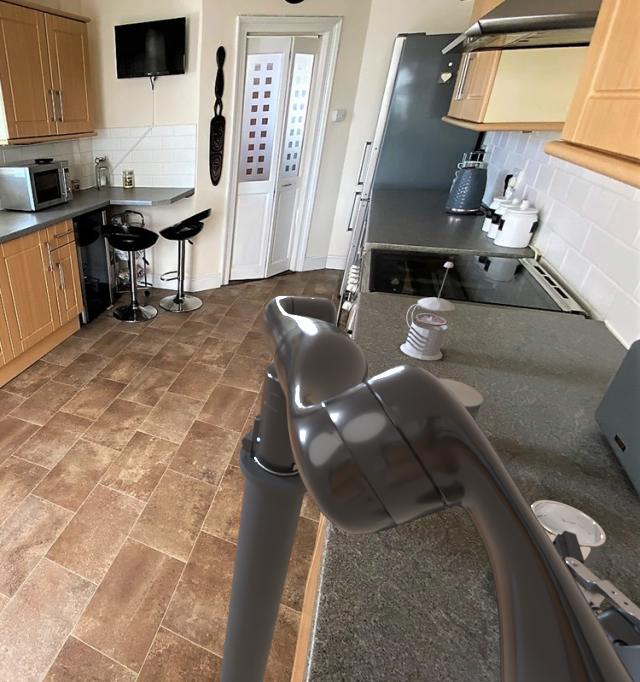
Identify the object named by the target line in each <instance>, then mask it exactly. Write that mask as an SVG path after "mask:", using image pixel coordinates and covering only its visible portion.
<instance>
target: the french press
mask: <svg viewBox="0 0 640 682" xmlns="http://www.w3.org/2000/svg"><path fill="white" fill-rule="evenodd" d="M443 267H445V268H447V269H446V271H445V275H444V278H443V281H442V285H441V287H440V290H439V293H438V296H437V297H435V296H433V297H431V296H430V297H424V298H421V299H418V300H417V303H415V304H412V305H410V307H409V308H408V310H407V312H406V316H405V317H406V323H407V326H408V328H410V329H409V332H408V335H407V338H406V341H405V343H402V344H401V345H400V347H399V348H400V350H401V352H403V353H404V354H405V355H407V356H408V357H411V358H415V359H418V360H423V361H438V360H440V359H442V357H443V356H444V355H443V353H442V352H441V350H440V349H441V347H442V345H443V343H444V342H443V341H444V339H445V335H446V333H447V330H448V323H449V322H448V319H447V318H445V317H443V316H440V315H437V314H435V313H451V312H453V311H454V310H455V309H456V307H455V305H454V304H453V303H451V302H450V301H449V300H447V299H444V298H440V296H441V292H442V290H443V287H444V284H445V281H446V278H447V274H448V272H449V269H451V268H454V263H453V262H451V261H446V262H445V263H444V265H443ZM413 307H414V308H413ZM420 307H421V308H420ZM412 308H413V309H412ZM416 308H417V309H418V310H423V309H425V310H428V311H431V312H432V313H426V312H425V313H424V312H423V313H418V314H416V315H415V316H414V312H415V309H416ZM411 309H412V312H411V325H410V324H409V322H408V317H409V311H410V310H411ZM413 316H414V317H415V318H413ZM416 322H417V324H416ZM434 329H435V330H434Z"/></svg>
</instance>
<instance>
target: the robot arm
mask: <svg viewBox="0 0 640 682" xmlns="http://www.w3.org/2000/svg"><path fill="white" fill-rule="evenodd" d="M337 325H338V311H337V307H336V304H335V303H334V301H332V300H331V299H329V298H326V297H315V296H313V297H311V296H296V295H295V296H291V295H281V296H276V297H274V298H273V297H272V298H271V299H270V300H269V302H268V303H267V304H266V306H265V308H264V310H263V314H262V319H261V333H262V339H263V342H264V345H265V347H266V349H267V351H268V352H269V353H270V355H271V356H272V358H273V361H272V362H270V363H268V365H267V366H266V368H265V371H264V377H263V386H262V393H261V400H260V407H259V413H257V415H256V416H255V417H254V420H253V426H252V428H251V429H250V430H249V431H248V432H247V433H246V434H245V436H243V437H242V438H241V441H240V442H241V447H242V445H243V447H242V450H244V451H246V452H248V453H250V457H251V458H253V459H254V460H255V462H256V464H257V465H258V466H259V467H260V468H261V469H262V470H264V471H266V472H267V473H269V474H272V475H275V476H280V477H292V476H295V475H298V474H300V476H301V478H302V481H303V483H304V485H305V487H306V490H307V491H308V492H307V493H308V495H309V497H310V499H311V500H312V502H313V504H314V505H315V506H316V508H317V509H318V510H319V512H320V513H321V514H322V515H323V517H325V519H326V520H327V521H329V522H330V523H331V524H332V525H333V526H334V527H336V528H338V529H339V530H341V531H342V532H344V533H346V534H349V535H353V536H364V535H365V536H366V535H372V534H377V533H381V532H386V531H388V530H392V529H394V528H397V527H400V526H403V525H406V524H409V523H411V522H414V521H417V520H420V519H423V518H426V517H428V516H432V515H434V514H437V513H439V512H442V511H443V512H444V511H446V509H451V508H454V507H460V508H462V509H463V510H464V512H465V513H466V514H467V517H468V518H469V520H470V521H471V523H472V525H473V528H474V529H475V531H476V533H477V535H478V537H479V540H480V542H481V544H482V548H483V549H484V551H485V555H486V558H487V561H488V564H489V567H490V572H491V575H492V579H493V580H494V585H495V593H496V597H495V600H496V609H497V617H498V618H497V619H498V620H497V621H498V635H499V637H498V639H499V671H500V672H499V673H500V682H640V602H639V601H636V600H633V599H631V598H630V599H629V598H628V597H627V595H625V594H624V593H623V592H621V591H620V590H619V589H618V588H617V587H616V586H615V585H613V584H612V583H611V582H610V581H609V580H606V579H600V578H599V577H598V576H596V575H595V574H594V572H592V571H591V570H590V568H589V569H588V568H586V567H585V566H584V565H583V564H584V562H585V561H584V558H583V555H582V552H581V549H580V546H579V542H578V539H577V536H576V534H574V533H571V532H568V531H564V532H563V533H562V535H561V534H557V536H556V538H555V539H554V541H553V542H552V541H551V539H550V538H549V536H548V534H547V533H546V531H545V530H544V528H543V526H542V525H541V523H540V522H539V520H538V518H537V517H536V515H535V514H534V512H533V510H532V509H531V505H530V503H529V502H528V500H527V498H526V497H525V495H524V494H523V492H522V490H521V488H520V487H519V485H518V484H517V482H516V480H515V479H514V477H513V475H512V474H511V473H510V471H509V470H508V467H507V466H506V465H505V463H504V461H503V460H502V457H500V455H499V453H498V451H497V450H496V448H495V447H494V446H493V444H492V443H491V441H490V439H489V438H488V436H487V435H486V433H485V432H484V431H483V429H482V427H481V426H480V425H479V423H478V422H477V421H476V419H475V420H474V418H473V417H472V416H471V414H470V413H469V412H468V410H467V409H466V408H465V406H464V405H463V404H462V403H461V402H460V401H459V399H458V398H457V397H456V396H455V395H454V393H453V392H452V391H451V390H449V389H448V388H447V387H446V386H445V385H444V384H443V383H442V382H441V381H440V380H439V379H438V378H439V377H437V376H436V375H434V374H433V373H431V371H429V370H427V369H425V368H424V367H421V366H418V365H416V364H412V363H402V364H399V365H396V366H393V367H390V368H389V369H386V370H384V371H382V372H380V373H377V374H375V375H373V376H370V377H369V365H368V359H367V358H366V355H365V353H364V350H363V349H362V348H361V346H360V345H359V344H358V343H357V342H356V340H354V339H353V338H352V337H351V336H350V335H349V334H348V333H346V331H344V330H343V329H342V328H341V327H338V326H337ZM577 578H578V580H579V581H580V582H581V583H582V584H583V585H584V587H583V586H582V585H581V584H580V583H579V582H578V580H577V581H576V579H577ZM605 599H606V600H607V601H608V602H609V603H610V604H611V605H610V606H608V607H607V608H606V609H604V610H602V608H601V604H602V603H603V601H604V600H605Z"/></svg>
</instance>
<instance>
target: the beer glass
mask: <svg viewBox="0 0 640 682" xmlns="http://www.w3.org/2000/svg"><path fill="white" fill-rule="evenodd" d="M530 507H531V509H532V510H533V512H534V514H535V515H536V517H537V518H538V520H539V522H540V523H541V525H542V526H543V528H544V530H545V531H546V533H547V534H548V536H549V538H550V539H551V541H552V542H553V541H554V539H555V538H556V536H557V534H561V535H562V533H563V532H564V531H568V532H571V533H574V534H576V536H577V539H578V542H579V546H580V549H581V552H582V555H583V558H584V561H585V562H584V564H583V565H584V566H585V567H586V568H588V569H589V570H590V568H591V566H592V565H593V563H595V560H596V559H597V556H598V555H599V553H600V551H601V548H602V546H603V545H604V544H605V543H606V540H607V539H606V538H607V537H606V533H605V531H604V530H603V528H602V527H601V526H600V525H599V523H598V522H597V521H595V520H594V519H593V518H592V517H590V516H589V515H588V514H586V513H584V512H583V511H581V510H579V509H578V508H575V507H573V506H571V505H568V504H566V503H562V502H559V501H556V500H550V499H540V500H537V501H535V502H534V501H533V503H532V504H531V505H530ZM578 580H579V579H578V578H577V579H576V581H577V582H578ZM490 590H491V592H492V595H493V596H494V598H496V593H495V585H494V580H493V578H492V579H491V580H490Z"/></svg>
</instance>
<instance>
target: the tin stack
mask: <svg viewBox="0 0 640 682" xmlns="http://www.w3.org/2000/svg"><path fill="white" fill-rule="evenodd" d="M437 378H438V379H439V380H440V381H441V382H442V383H443V384H444V385H445V386H446V387H447V388H448V389H449V390H451V391H452V392H453V393H454V395H455V396H456V397H457V398H458V399H459V401H460V402H461V403H462V404H463V405H464V406H465V408H466V409H467V410H468V412H469V413H470V414H471V416H472V417H473V418H474V420H475V421H476V419H477V418H478V414H479V412H480V410H481V406H482V404H483V401H484V397H483V396H482V394H481V393H480V392H479V391H478V390H477V389H476V388H474V387H472V386H470V385H468V384H467V383H464V382H461V381H457V380H454V379H450V378H440V377H437Z"/></svg>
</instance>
